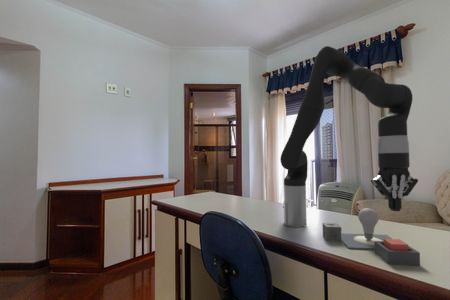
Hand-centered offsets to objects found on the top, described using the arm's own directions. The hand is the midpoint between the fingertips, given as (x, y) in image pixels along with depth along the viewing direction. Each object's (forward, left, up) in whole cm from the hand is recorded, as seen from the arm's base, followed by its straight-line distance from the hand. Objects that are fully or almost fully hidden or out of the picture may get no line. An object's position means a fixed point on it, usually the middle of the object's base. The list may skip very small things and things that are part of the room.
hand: (395, 210), depth 70 cm
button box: (0, 0, -14) cm, 14 cm away
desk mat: (-2, +13, -14) cm, 19 cm away
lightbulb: (-2, +13, -14) cm, 19 cm away
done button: (0, 0, -11) cm, 11 cm away
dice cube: (-14, +15, -14) cm, 25 cm away
